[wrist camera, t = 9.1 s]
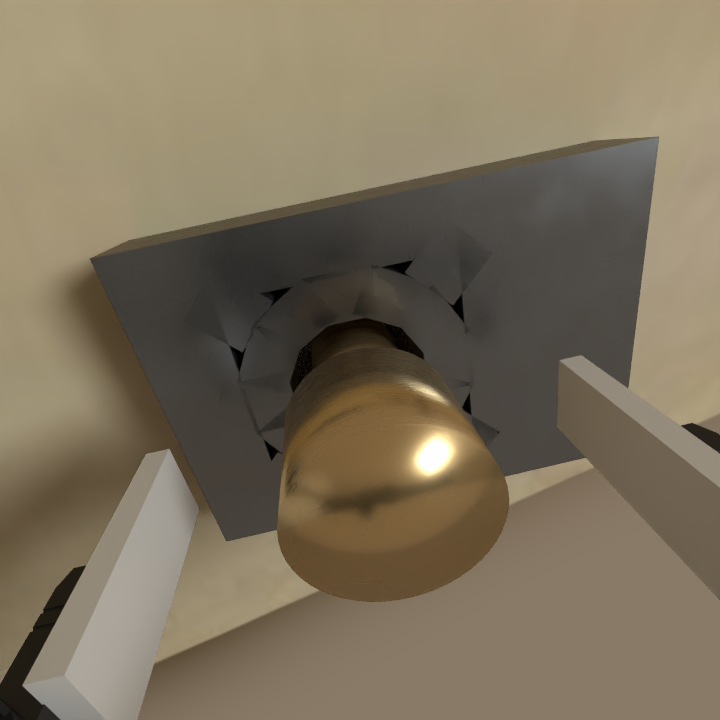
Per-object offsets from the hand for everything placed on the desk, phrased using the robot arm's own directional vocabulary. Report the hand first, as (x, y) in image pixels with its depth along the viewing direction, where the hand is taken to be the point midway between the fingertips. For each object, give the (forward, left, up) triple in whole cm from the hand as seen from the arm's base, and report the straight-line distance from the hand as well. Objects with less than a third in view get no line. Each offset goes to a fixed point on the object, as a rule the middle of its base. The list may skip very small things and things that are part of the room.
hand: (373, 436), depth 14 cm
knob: (0, 0, -7) cm, 7 cm away
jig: (+2, 0, -7) cm, 7 cm away
